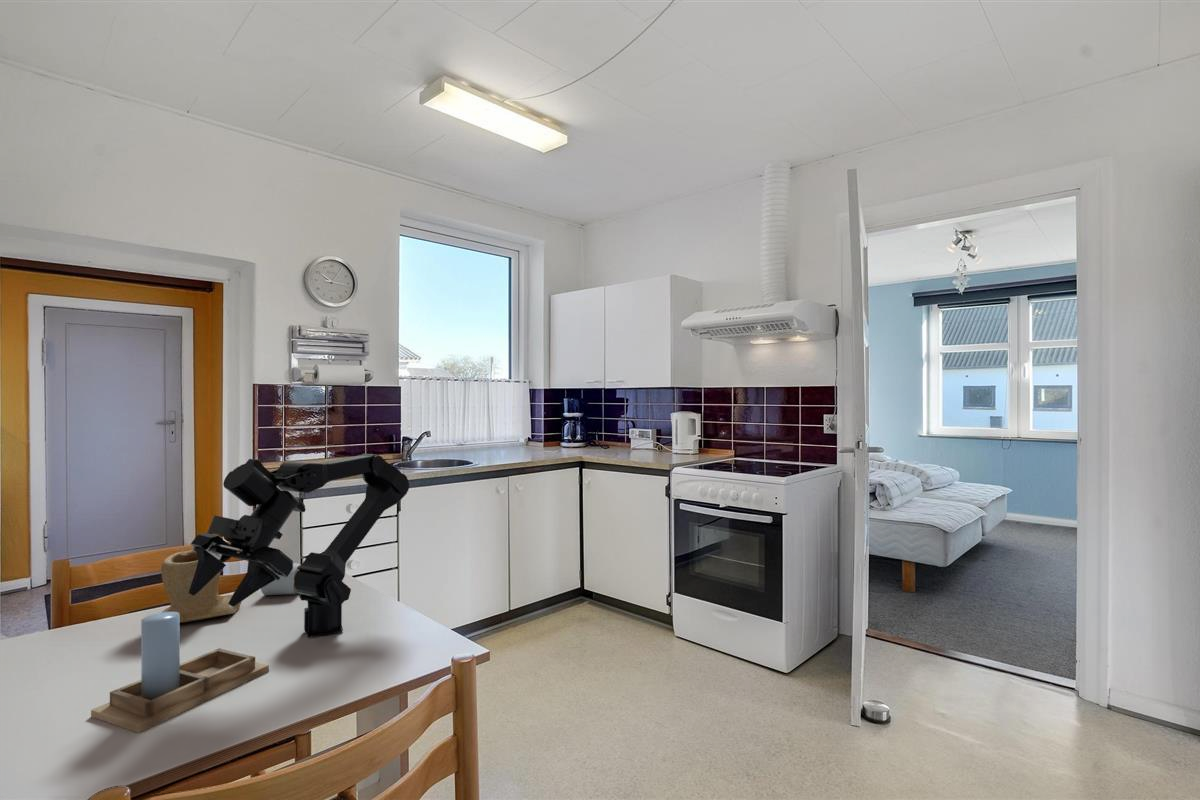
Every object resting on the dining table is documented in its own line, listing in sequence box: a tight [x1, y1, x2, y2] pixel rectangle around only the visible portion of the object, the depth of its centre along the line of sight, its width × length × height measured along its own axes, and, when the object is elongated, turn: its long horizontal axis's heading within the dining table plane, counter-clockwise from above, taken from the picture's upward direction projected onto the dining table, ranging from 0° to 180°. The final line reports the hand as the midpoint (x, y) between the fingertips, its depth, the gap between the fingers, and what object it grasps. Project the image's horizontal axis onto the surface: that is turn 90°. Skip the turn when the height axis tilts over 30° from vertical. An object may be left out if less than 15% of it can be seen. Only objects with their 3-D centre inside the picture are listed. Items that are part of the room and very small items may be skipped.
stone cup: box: [160, 548, 243, 623], centre depth 129 cm, size 15×12×15 cm
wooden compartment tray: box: [90, 648, 270, 733], centre depth 97 cm, size 21×11×3 cm, turn 158°
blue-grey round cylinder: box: [140, 611, 181, 700], centre depth 93 cm, size 5×5×12 cm
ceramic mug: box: [260, 562, 302, 596], centre depth 147 cm, size 11×8×8 cm
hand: (210, 599), depth 101 cm, fingers open, 9 cm apart
